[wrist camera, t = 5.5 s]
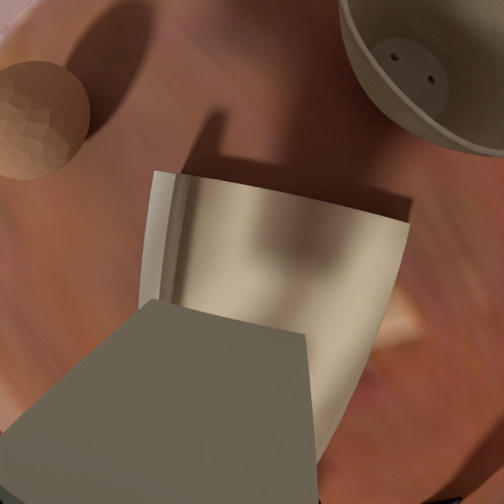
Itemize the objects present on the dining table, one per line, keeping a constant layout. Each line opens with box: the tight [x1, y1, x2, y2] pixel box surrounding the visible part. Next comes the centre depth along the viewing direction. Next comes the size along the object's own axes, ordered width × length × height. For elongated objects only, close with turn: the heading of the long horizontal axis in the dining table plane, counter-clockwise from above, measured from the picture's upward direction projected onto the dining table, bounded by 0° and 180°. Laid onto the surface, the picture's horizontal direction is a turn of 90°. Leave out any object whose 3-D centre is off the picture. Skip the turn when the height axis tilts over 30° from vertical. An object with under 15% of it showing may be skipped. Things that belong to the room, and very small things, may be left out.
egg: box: [0, 61, 91, 180], centre depth 12 cm, size 6×6×8 cm
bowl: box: [338, 0, 504, 158], centre depth 10 cm, size 10×10×7 cm
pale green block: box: [0, 298, 319, 504], centre depth 6 cm, size 5×7×7 cm
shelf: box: [138, 171, 411, 464], centre depth 16 cm, size 12×22×3 cm, turn 169°
